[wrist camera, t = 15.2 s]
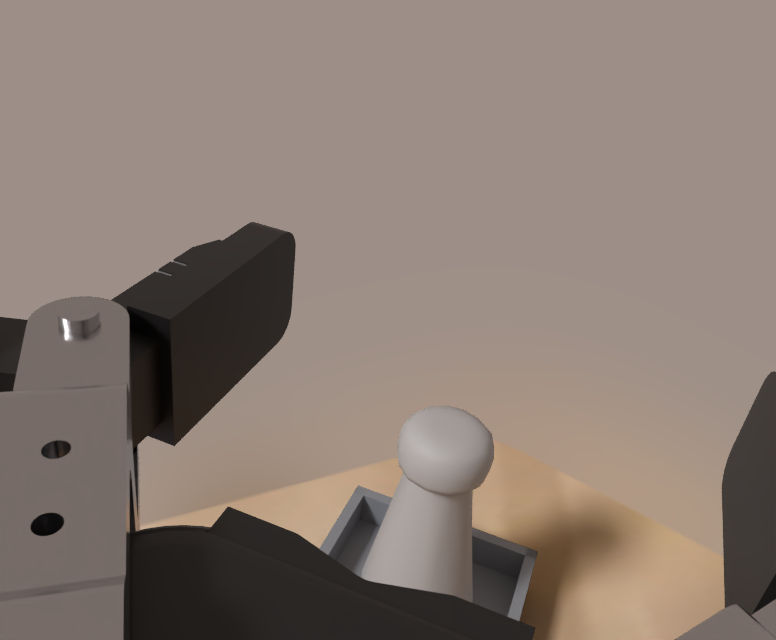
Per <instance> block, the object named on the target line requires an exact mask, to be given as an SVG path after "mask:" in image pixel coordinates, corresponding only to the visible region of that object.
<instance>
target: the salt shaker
mask: <svg viewBox="0 0 776 640" xmlns="http://www.w3.org/2000/svg"><path fill="white" fill-rule="evenodd" d="M493 459H494V444H493V438H492V434H491V433H490V431H489V430H488V429H487V428H486V427H485V426H484V424H483V423H482V422H481V421H480V420H479V419H478V418H477V417H475V416H473V415H471V414H470V413H468V412H467V411H465V410H462V409H458V408H454V407H449V406H432V407H429V408H426V409H424V410H422V411H419V412H417V413H415V414H412V415H411V416H410V418H409V419H408V420H407V421H406V423H405V424H404V425H403V427H402V430H401V432H400V435H399V440H398V462H399V466H400V468H401V469H402V471H403V474H402V477H401V479H400V482H399V484H398V486H397V489H396V491H395V493H394V496H393V498H392V501H391V503H390V505H389V508H388V510H387V512H386V515H385V517H384V519H383V522H382V524H381V527H380V529H379V531H378V534H377V536H376V538H375V541H374V543H373V546H372V548H371V550H370V553H369V555H368V557H367V560H366V562H365V565H364V567H363V569H362V578H363V579H365V580H368V581H372V582H377V583H383V584H389V585H395V586H400V587H406V588H412V589H418V590H424V591H430V592H436V593H442V594H448V595H454V596H456V597H459V598H461V599H464V600H466V601H469V602H471V603H472V601H473V585H472V490H474V489H476V488H477V487H479V486H480V485H481V484H482V483H483V482H484V480H485V478H486V476H487V474H488V472H489V470H490V468H491V465H492V462H493Z"/></svg>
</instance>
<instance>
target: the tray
mask: <svg viewBox="0 0 776 640" xmlns="http://www.w3.org/2000/svg"><path fill="white" fill-rule="evenodd" d="M391 501H392V498H391V497H388V496H385V495H383V494H380V493H377V492H374V491H372V490H369V489H366V488H364V487H361V486H358V487H357V488H356V490H355V491H354V493H353V495H352V496H351V498H350V500H349V501H348V503H347V505H346V506H345V508H344V509H343V511H342V513H341V514H340V516H339V518H338V519H337V521H336V523H335V524H334V526H333V527H332V529H331V531H330V532H329V534H328V536H327V537H326V539H325V541H324V542H323V544H322V545H321V547H320V550H321V551H323V552H324V553H326V554H327V555H329V556H330V557H332V558H333V559H334V560H336V561H337V562H339V563H340V564H342V565H343V566H345V567H346V568H347V569H349V570H350V571H352V572H353V573H355V574H356V575H358V576H359V577H361V578H362V569H363V567H364V565H365V562H366V560H367V557H368V555H369V553H370V550H371V548H372V546H373V543H374V541H375V538H376V536H377V534H378V531H379V529H380V527H381V524H382V522H383V519H384V517H385V515H386V512H387V510H388V508H389V505H390V503H391ZM536 556H537V551H535V550H532V549H529V548H526V547H524V546H521V545H518V544H516V543H513V542H510V541H507V540H505V539H502V538H499V537H497V536H494V535H491V534H488V533H486V532H483V531H480V530H478V529H475V528H472V585H473V601H472V603H474V604H477V605H479V606H482V607H484V608H487V609H489V610H492V611H494V612H497V613H499V614H502V615H504V616H507V617H509V618H512V619H515V620H517V621H519V620H520V616H521V612H522V609H523V605H524V601H525V597H526V594H527V590H528V586H529V582H530V579H531V575H532V571H533V567H534V564H535V560H536Z"/></svg>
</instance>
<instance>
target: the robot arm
mask: <svg viewBox="0 0 776 640" xmlns="http://www.w3.org/2000/svg"><path fill="white" fill-rule="evenodd" d="M294 261H295V239H294V236H293V235H292V233H290V232H286V231H283V230H279V229H276V228H272V227H269V226H265V225H262V224H258V223H255V222H251V223H249V224H247V225H246V226H244V227H243V228H241V229H240V230H238V231H237V232H235V233H234V234H232V235H231V236H229V237H228V238H226V239H225V240H223V241H221V240H217V241H213V242H210V243H206V244H202V245H199V246H196V247H192V248H191V249H189V250H188V251H186V252H185V253H183V254H182V255H180V256H178V257H177V258H175V259H174V261H173V263H172V262H169V263H168V264H166V265H165V266H163V267H161V268H160V269H159V271H158V273H157V272H154V273H152V274H151V275H149V276H147V277H146V278H144V279H143V280H141V281H140V282H138V283H137V284H135V285H134V286H132V287H131V288H129V289H127V290H126V291H124V292H123V293H121V294H120V295H118V296H117V297H115V298H114V299H112V300H108V299H104V298H98V297H71V298H65V299H61V300H57V301H54V302H51V303H48V304H46V305H44V306H42V307H40V308H39V309H37V310H36V311H35V312H34V313H32V314H31V316H30V317H29V319H28V320H21V319H12V318H4V317H0V640H532V639H533V635H534V631H535V627H532V626H530V625H527V624H525V623H522V622H520V621H517V620H515V619H512V618H509V617H507V616H504V615H502V614H499V613H497V612H494V611H492V610H489V609H487V608H484V607H482V606H479V605H477V604H474V603H471V602H469V601H466V600H464V599H461V598H459V597H456V596H454V595H448V594H442V593H436V592H430V591H424V590H418V589H412V588H406V587H400V586H395V585H389V584H383V583H377V582H372V581H368V580H365V579H363V578H361V577H359V576H358V575H356V574H355V573H353V572H352V571H350V570H349V569H347V568H346V567H345V566H343V565H342V564H340V563H339V562H337V561H336V560H334V559H333V558H332V557H330V556H329V555H327V554H326V553H324V552H323V551H321V550H320V549H319V548H317V547H316V546H314V545H313V544H311V543H310V542H308V541H307V540H306V539H304V538H303V537H301V536H300V535H298V534H296V533H294V532H291V531H289V530H286V529H284V528H281V527H279V526H276V525H274V524H271V523H269V522H266V521H264V520H261V519H258V518H256V517H253V516H251V515H248V514H246V513H243V512H241V511H238V510H236V509H233V508H231V507H227V509H226V510H225V511H224V512H223V513H222V515H221V516H220V517H219V518H218V520H217V521H216V522H215V523H214V525H213V526H212V527H204V526H188V525H179V526H163V527H155V528H148V529H143V530H140V505H139V504H140V502H139V453H138V444H139V443H140V442H141V441H142V440H143V439H144V438H145V437H146V436H150V437H152V438H155V439H158V440H160V441H163V442H165V443H168V444H171V445H173V446H175V445H176V444H177V443H178V442H179V441H180V440H181V438H183V437H184V436H185V435H186V434H187V433H188V432H189V431H190V430H191V429H192V428H193V427H194V426H195V425H196V424H197V423H198V422H199V421H200V420H201V419H202V418H203V417H204V416H205V415H206V414H207V413H208V412H209V411H210V410H211V409H212V408H213V407H214V406H215V405H216V404H217V403H218V402H219V401H220V400H221V399H222V398H223V397H224V396H225V395H226V394H227V393H228V392H229V391H230V390H231V389H232V388H233V387H234V386H235V385H236V384H237V383H238V382H239V381H240V380H241V379H242V378H243V377H244V376H245V375H246V374H247V373H248V372H249V371H250V370H251V369H252V368H253V367H254V366H255V365H256V364H257V363H258V362H259V361H260V360H261V359H262V358H263V357H264V356H265V355H266V354H267V353H268V352H269V351H270V350H271V349H272V348H273V347H274V346H275V345H276V344H277V343H278V342H279V341H280V339H281V338H282V336H283V335H284V333H285V330H286V328H287V326H288V323H289V319H290V315H291V308H292V293H293V277H294ZM722 508H723V509H722V510H723V548H724V586H725V609H723V610H721V611H720V612H718V613H717V614H715V615H713V616H712V617H710V618H709V619H707V620H705V621H704V622H702V623H701V624H699V625H697V626H696V627H694V628H693V629H691V630H689V631H688V632H686V633H684V634H683V635H681V636H680V637H678V638H676V639H675V640H776V372H771V373H770V374H769V375H768V376H767V378H766V379H765V381H764V383H763V385H762V387H761V389H760V391H759V393H758V395H757V397H756V399H755V401H754V403H753V405H752V407H751V410H750V412H749V414H748V416H747V418H746V420H745V422H744V424H743V426H742V428H741V430H740V433H739V435H738V437H737V439H736V441H735V443H734V445H733V447H732V450H731V452H730V454H729V457H728V460H727V463H726V467H725V471H724V475H723V482H722Z"/></svg>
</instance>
